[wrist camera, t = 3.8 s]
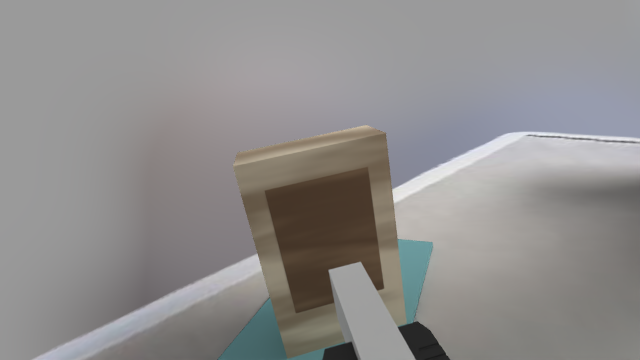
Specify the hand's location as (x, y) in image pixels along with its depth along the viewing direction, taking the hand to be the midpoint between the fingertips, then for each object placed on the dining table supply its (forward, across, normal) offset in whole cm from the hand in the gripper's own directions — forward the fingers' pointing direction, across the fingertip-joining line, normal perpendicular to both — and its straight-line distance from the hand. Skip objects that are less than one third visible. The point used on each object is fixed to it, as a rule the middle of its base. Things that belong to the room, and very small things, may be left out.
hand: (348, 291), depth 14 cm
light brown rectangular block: (+10, 0, -11) cm, 15 cm away
